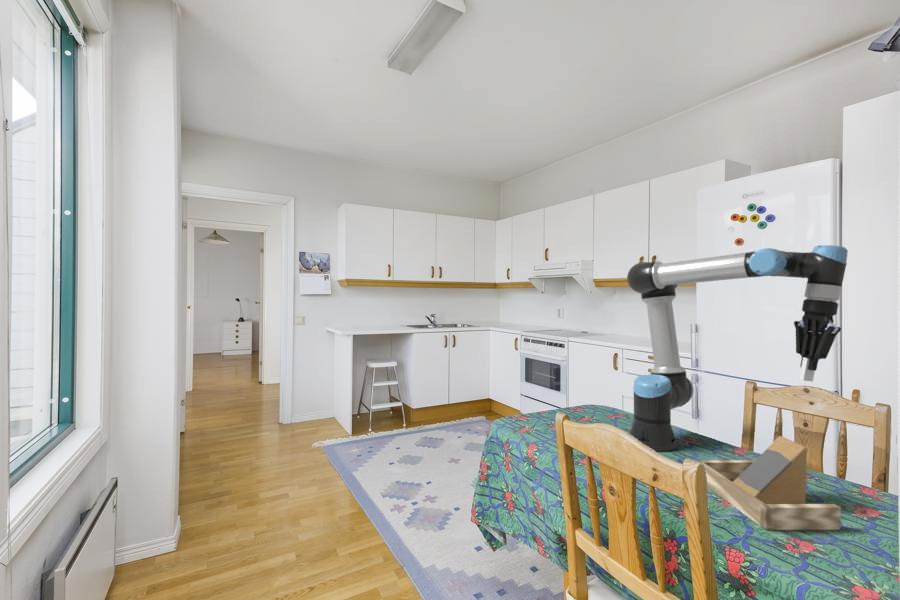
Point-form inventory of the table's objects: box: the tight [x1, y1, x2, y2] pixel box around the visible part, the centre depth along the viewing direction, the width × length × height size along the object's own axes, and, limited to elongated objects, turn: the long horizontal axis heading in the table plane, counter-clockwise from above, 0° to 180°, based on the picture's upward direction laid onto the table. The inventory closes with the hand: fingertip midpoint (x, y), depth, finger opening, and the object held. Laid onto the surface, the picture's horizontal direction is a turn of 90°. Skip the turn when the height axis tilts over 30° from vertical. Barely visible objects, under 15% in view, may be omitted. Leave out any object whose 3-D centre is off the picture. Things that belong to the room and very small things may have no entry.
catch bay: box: [695, 459, 842, 531], centre depth 105 cm, size 17×26×5 cm, turn 0°
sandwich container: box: [732, 435, 808, 504], centre depth 107 cm, size 9×15×15 cm, turn 89°
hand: (805, 380), depth 120 cm, fingers closed
